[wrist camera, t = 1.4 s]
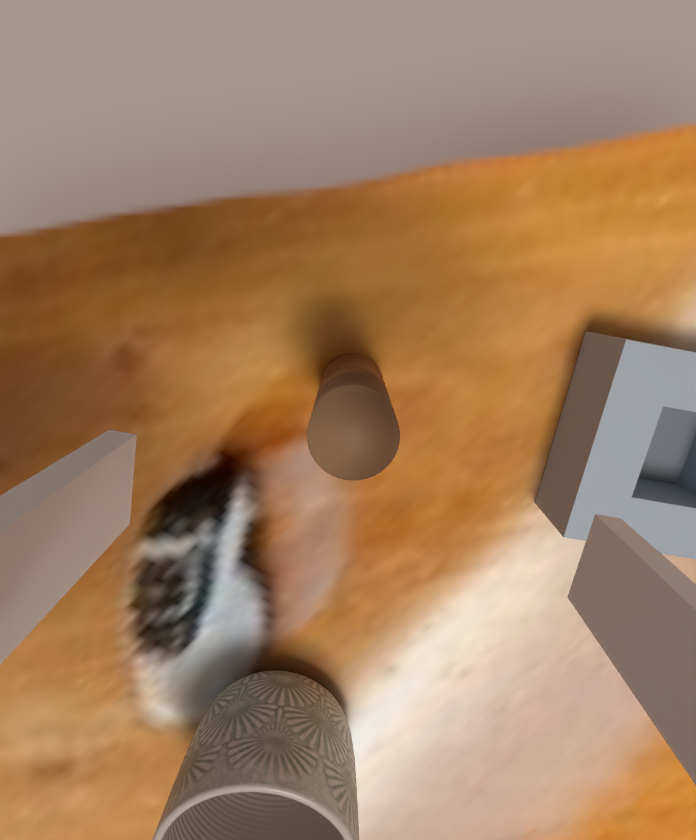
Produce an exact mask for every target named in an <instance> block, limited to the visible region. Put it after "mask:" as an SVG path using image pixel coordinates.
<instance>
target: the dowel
mask: <svg viewBox="0 0 696 840" xmlns="http://www.w3.org/2000/svg"><path fill="white" fill-rule="evenodd" d="M399 441H400V431H399V426H398V422H397V419H396V416H395V413H394V410H393V407H392V404H391V401H390V398H389V395H388V392H387V389H386V386H385V383H384V380H383V377H382V374H381V372H380V370H379V368H378V366H377V365H376V364H375V363H374V362H373V361H372V360H371V359H369V358H368V357H366V356H364V355H361V354H355V353H349V354H344V355H341V356H339V357H337V358H335V359H334V360H333V361H331V362H330V363H329V365H328V366H327V367H326V369H325V371H324V374H323V377H322V380H321V384H320V387H319V390H318V394H317V397H316V401H315V404H314V408H313V411H312V414H311V418H310V421H309V425H308V430H307V442H308V447H309V450H310V453H311V455H312V457H313V459H314V460H315V462H316V463H317V464H318V465H319V466H320V467H321V468H322V469H323V470H324V471H326V472H327V473H328V474H330V475H332V476H334V477H337V478H340V479H344V480H363V479H367V478H370V477H372V476H375V475H376V474H378V473H380V472H381V471H382V470H384V469H385V468H386V467H387V466H388V465H389V464H390V463H391V461H392V460H393V458H394V457H395V455H396V452H397V450H398V446H399Z"/></svg>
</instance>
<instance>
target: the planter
mask: <svg viewBox="0 0 696 840" xmlns="http://www.w3.org/2000/svg"><path fill="white" fill-rule="evenodd" d="M153 840H359V826H358V805H357V786H356V771H355V759H354V751H353V744H352V738H351V732H350V728H349V725H348V722H347V719H346V716H345V714H344V711H343V710H342V708H341V706H340V705H339V703H338V702H337V700H336V699H335V697H334V696H333V695H332V694H331V693H330V692H329V691H328V690H327V689H325V688H324V687H323V686H322V685H320V684H319V683H317V682H316V681H314V680H312V679H310V678H308V677H306V676H303V675H300V674H297V673H293V672H287V671H263V672H258V673H254V674H251V675H248V676H245V677H243V678H241V679H239V680H237V681H235V682H233V683H232V684H230V685H229V686H228V687H226V688H225V689H224V690H223V691H222V692H221V693H220V694H219V695H218V696H217V697H216V698H215V699H214V701H213V702H212V703H211V705H210V706H209V708H208V709H207V711H206V712H205V714H204V716H203V718H202V720H201V722H200V724H199V726H198V728H197V730H196V732H195V734H194V736H193V738H192V741H191V743H190V745H189V748H188V750H187V753H186V755H185V757H184V760H183V762H182V765H181V767H180V770H179V772H178V775H177V777H176V780H175V783H174V785H173V788H172V790H171V793H170V795H169V798H168V801H167V803H166V806H165V808H164V811H163V814H162V816H161V819H160V821H159V824H158V827H157V829H156V832H155V834H154V837H153Z"/></svg>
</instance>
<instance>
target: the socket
mask: <svg viewBox="0 0 696 840" xmlns="http://www.w3.org/2000/svg"><path fill="white" fill-rule="evenodd" d="M535 503H536V505H537V506H538V507H539V508H540V509H541V511H542V512H543V513H544V514H545V515H546V517H547V518H548V519H549V520H550V521H551V523H552V524H553V525H554V526H555V527H556V529H557V530H558V531H559V532H560V533H561V535H562V536H563V537H567V538H572V539H578V540H584V541H586V540H587V537H588V534H589V531H590V528H591V525H592V522H593V519H594V516H595V514H598V515H604V516H610V517H615V518H621V519H622V520H623V521H624V522H626V523H627V524H628V525H629V526H630V527H631V528H632V529H634V530H635V531H636V532H637V533H638V534H639V535H640V536H641V537H643V538H644V539H645V540H646V541H647V542H648V543H649V544H651V545H652V546H653V547H654V548H655V549H656V550H657V551H658V552H660V553H661V554H667V555H673V556H679V557H685V558H691V559H696V352H695V351H690V350H684V349H679V348H674V347H668V346H663V345H657V344H652V343H647V342H641V341H636V340H631V339H625V338H620V337H614V336H609V335H604V334H598V333H593V332H588V331H586V332H585V335H584V338H583V342H582V345H581V349H580V352H579V355H578V359H577V362H576V365H575V369H574V372H573V376H572V379H571V382H570V386H569V389H568V393H567V396H566V399H565V403H564V406H563V409H562V413H561V416H560V420H559V423H558V426H557V430H556V433H555V436H554V440H553V443H552V447H551V450H550V453H549V457H548V460H547V464H546V467H545V470H544V474H543V477H542V480H541V484H540V487H539V491H538V494H537V497H536V501H535Z"/></svg>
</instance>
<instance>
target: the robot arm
mask: <svg viewBox="0 0 696 840" xmlns="http://www.w3.org/2000/svg"><path fill="white" fill-rule="evenodd" d="M136 438H137V434H131V433H125V432H120V431H114V430H108V431H106V432H104V433H103V434H101V435H99V436H98V437H96V438H94V439H93V440H91V441H90V442H88V443H86V444H85V445H83V446H81V447H80V448H78V449H76V450H75V451H73V452H71V453H70V454H68V455H66V456H65V457H63V458H62V459H60V460H58V461H57V462H55V463H53V464H52V465H50V466H48V467H47V468H45V469H43V470H42V471H40V472H38V473H37V474H35V475H34V476H32V477H30V478H29V479H27V480H25V481H24V482H22V483H20V484H19V485H17V486H15V487H14V488H12V489H10V490H9V491H7V492H6V493H4V494H2V495H1V496H0V665H1V664H2V662H3V661H4V660H5V659H6V658H7V657H8V656H9V655H10V654H11V653H12V652H13V651H14V649H15V648H16V647H17V646H18V645H19V644H20V643H21V642H22V641H23V640H24V639H25V637H26V636H27V635H28V634H29V633H30V632H31V631H32V630H33V629H34V628H35V627H36V626H37V624H38V623H39V622H40V621H41V620H42V619H43V618H44V617H45V616H46V615H47V614H48V612H49V611H50V610H51V609H52V608H53V607H54V606H55V605H56V604H57V603H58V602H59V600H60V599H61V598H62V597H63V596H64V595H65V594H66V593H67V592H68V591H69V590H70V589H71V587H72V586H73V585H74V584H75V583H76V582H77V581H78V580H79V579H80V578H81V577H82V575H83V574H84V573H85V572H86V571H87V570H88V569H89V568H90V567H91V566H92V565H93V564H94V562H95V561H96V560H97V559H98V558H99V557H100V556H101V555H102V554H103V553H104V552H105V550H106V549H107V548H108V547H109V546H110V545H111V544H112V543H113V542H114V541H115V540H116V539H117V537H118V536H119V535H120V534H121V533H122V532H123V531H124V530H125V529H126V528H127V527H128V525H129V524H130V515H131V502H132V489H133V476H134V464H135V451H136ZM568 598H569V600H570V601H571V603H572V604H573V606H574V607H575V609H576V610H577V612H578V613H579V615H580V616H581V618H582V619H583V620H584V622H585V623H586V625H587V626H588V628H589V629H590V631H591V632H592V634H593V635H594V637H595V638H596V640H597V641H598V642H599V644H600V645H601V647H602V648H603V650H604V651H605V653H606V654H607V656H608V657H609V659H610V660H611V662H612V663H613V664H614V666H615V667H616V669H617V670H618V672H619V673H620V675H621V676H622V678H623V679H624V681H625V682H626V683H627V685H628V686H629V688H630V689H631V691H632V692H633V694H634V695H635V697H636V698H637V700H638V701H639V703H640V704H641V705H642V707H643V708H644V710H645V711H646V713H647V714H648V716H649V717H650V719H651V720H652V722H653V723H654V725H655V726H656V727H657V729H658V730H659V732H660V733H661V735H662V736H663V738H664V739H665V741H666V742H667V744H668V745H669V747H670V748H671V749H672V751H673V752H674V754H675V755H676V757H677V758H678V760H679V761H680V763H681V764H682V766H683V767H684V769H685V770H686V771H687V773H688V774H689V776H690V777H691V779H692V780H693V782H694V783H695V785H696V584H695V583H694V582H693V581H691V580H690V579H689V578H688V577H687V576H686V575H685V574H683V573H682V572H681V571H680V570H679V569H678V568H677V567H676V566H674V565H673V564H672V563H671V562H670V561H669V560H668V559H666V558H665V557H664V556H663V555H662V554H661V553H660V552H658V551H657V550H656V549H655V548H654V547H653V546H652V545H651V544H649V543H648V542H647V541H646V540H645V539H644V538H643V537H641V536H640V535H639V534H638V533H637V532H636V531H635V530H634V529H632V528H631V527H630V526H629V525H628V524H627V523H626V522H624V521H623V520H622V519H621V518H615V517H610V516H604V515H598V514H595V516H594V519H593V522H592V525H591V528H590V531H589V534H588V537H587V540H586V543H585V546H584V549H583V552H582V555H581V558H580V561H579V564H578V567H577V570H576V573H575V576H574V579H573V582H572V585H571V588H570V591H569V594H568Z"/></svg>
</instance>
